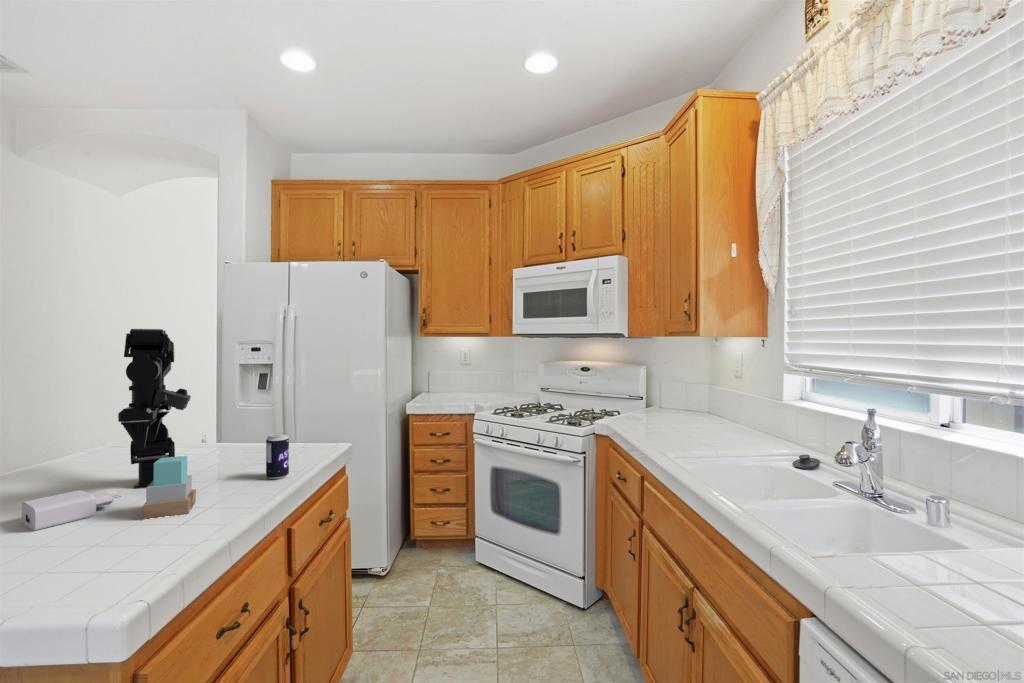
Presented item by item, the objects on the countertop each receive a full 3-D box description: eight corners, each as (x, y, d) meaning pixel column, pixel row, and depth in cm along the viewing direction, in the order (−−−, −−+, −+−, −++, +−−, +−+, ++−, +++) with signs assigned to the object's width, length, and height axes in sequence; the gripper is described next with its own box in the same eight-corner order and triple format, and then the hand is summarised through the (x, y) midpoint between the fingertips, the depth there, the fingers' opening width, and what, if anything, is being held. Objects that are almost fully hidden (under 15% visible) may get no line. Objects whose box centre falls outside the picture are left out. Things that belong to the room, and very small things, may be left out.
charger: (127, 509, 104) (34, 532, 91) (111, 501, 108) (21, 523, 96) (128, 488, 104) (34, 509, 91) (112, 481, 108) (21, 500, 96)
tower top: (154, 494, 104) (154, 479, 104) (191, 490, 107) (191, 475, 107) (146, 504, 98) (146, 488, 98) (185, 499, 101) (185, 483, 101)
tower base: (153, 509, 104) (153, 493, 104) (195, 503, 108) (195, 489, 108) (143, 521, 97) (143, 505, 97) (188, 515, 100) (188, 499, 100)
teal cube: (160, 479, 103) (160, 457, 103) (187, 477, 105) (187, 455, 105) (153, 486, 99) (153, 463, 99) (181, 483, 101) (181, 461, 101)
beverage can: (279, 481, 124) (279, 437, 124) (261, 479, 125) (261, 436, 125) (293, 475, 130) (293, 433, 130) (275, 473, 131) (275, 432, 131)
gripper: (179, 382, 105) (179, 450, 105) (194, 376, 122) (194, 435, 122) (117, 384, 100) (117, 455, 100) (142, 378, 117) (142, 438, 117)
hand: (146, 445), depth 110 cm, fingers open, 9 cm apart
